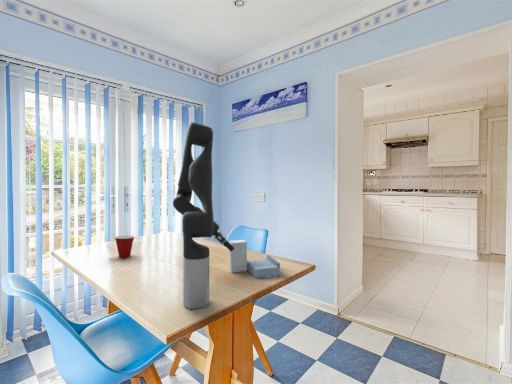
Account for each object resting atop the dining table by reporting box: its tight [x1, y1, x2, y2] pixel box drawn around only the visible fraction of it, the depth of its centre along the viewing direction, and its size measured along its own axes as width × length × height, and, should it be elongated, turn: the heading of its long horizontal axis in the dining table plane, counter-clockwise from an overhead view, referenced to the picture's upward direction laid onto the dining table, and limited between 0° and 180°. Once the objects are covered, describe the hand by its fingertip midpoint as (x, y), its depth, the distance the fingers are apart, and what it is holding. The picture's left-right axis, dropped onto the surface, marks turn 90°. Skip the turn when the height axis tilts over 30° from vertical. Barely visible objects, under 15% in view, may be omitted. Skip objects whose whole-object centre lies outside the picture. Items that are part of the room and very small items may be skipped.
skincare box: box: [228, 239, 248, 274], centre depth 132 cm, size 8×6×15 cm
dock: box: [247, 254, 281, 279], centre depth 129 cm, size 14×12×6 cm
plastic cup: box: [113, 234, 136, 259], centre depth 154 cm, size 11×11×12 cm
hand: (230, 247), depth 130 cm, fingers open, 8 cm apart
